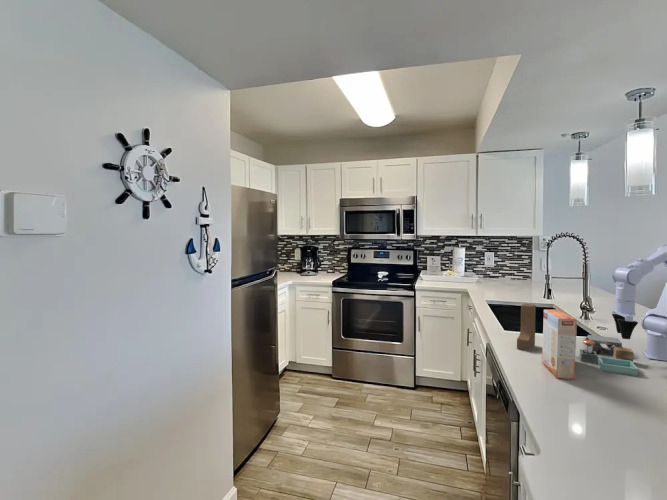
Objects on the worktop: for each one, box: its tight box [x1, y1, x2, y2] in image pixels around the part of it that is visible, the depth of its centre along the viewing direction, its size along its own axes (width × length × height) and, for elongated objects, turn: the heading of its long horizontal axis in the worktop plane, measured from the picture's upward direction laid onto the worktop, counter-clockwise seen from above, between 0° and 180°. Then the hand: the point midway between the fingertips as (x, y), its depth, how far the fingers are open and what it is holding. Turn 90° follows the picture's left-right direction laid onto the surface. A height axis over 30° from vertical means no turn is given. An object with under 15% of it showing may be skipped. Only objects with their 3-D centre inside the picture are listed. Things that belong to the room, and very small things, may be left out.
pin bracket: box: [578, 348, 599, 364], centre depth 134 cm, size 5×5×3 cm
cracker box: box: [541, 309, 578, 380], centre depth 124 cm, size 14×6×21 cm, turn 167°
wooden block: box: [516, 303, 536, 352], centre depth 148 cm, size 9×4×18 cm, turn 134°
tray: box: [597, 356, 639, 377], centre depth 125 cm, size 10×8×2 cm
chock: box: [612, 347, 634, 363], centre depth 131 cm, size 5×4×5 cm
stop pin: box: [582, 339, 595, 354], centre depth 134 cm, size 4×4×7 cm
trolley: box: [584, 334, 624, 355], centre depth 142 cm, size 11×11×5 cm
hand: (623, 335), depth 131 cm, fingers open, 7 cm apart
